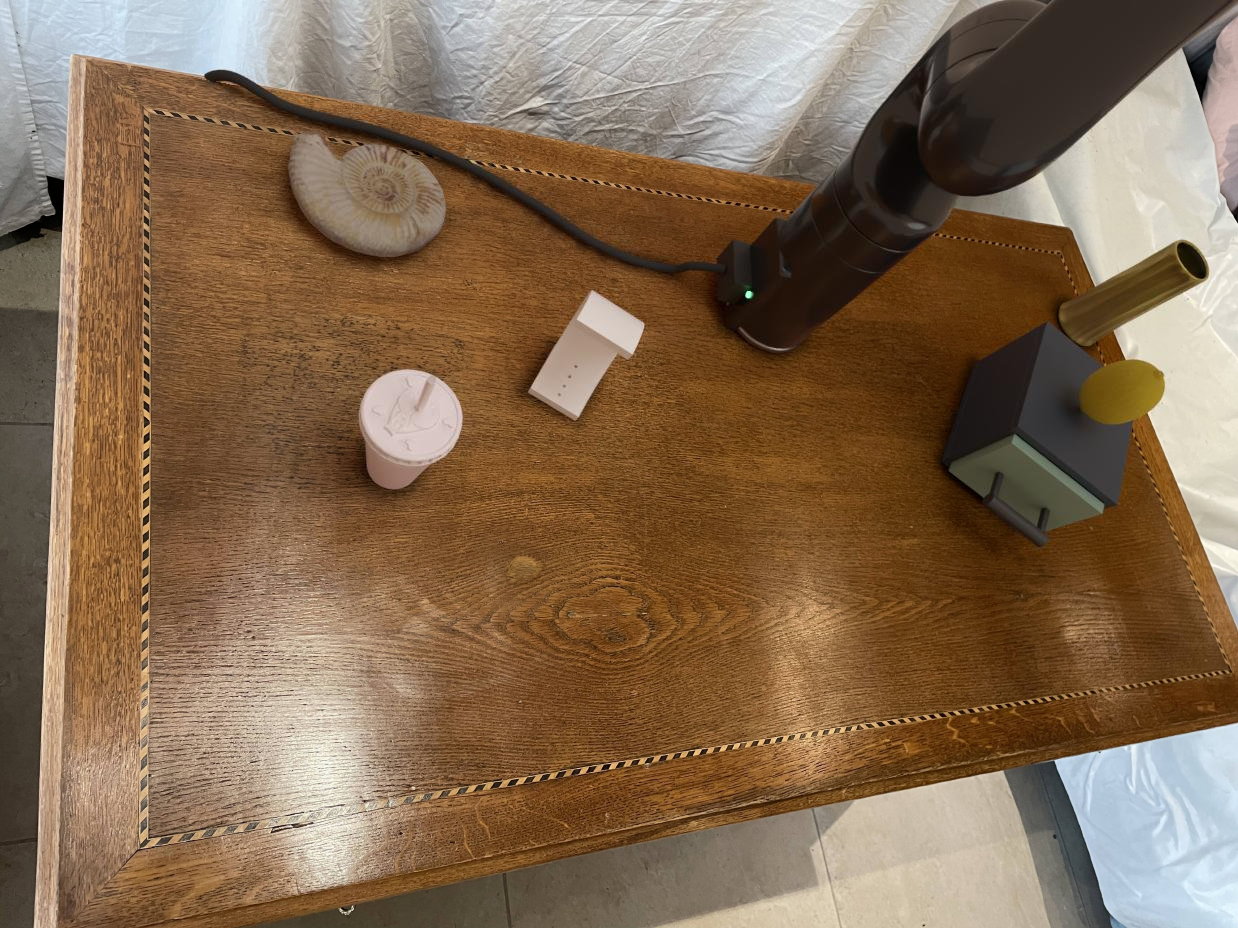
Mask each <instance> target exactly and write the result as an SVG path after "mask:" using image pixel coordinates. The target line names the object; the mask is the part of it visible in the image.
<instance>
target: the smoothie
mask: <svg viewBox="0 0 1238 928" xmlns="http://www.w3.org/2000/svg"><path fill="white" fill-rule="evenodd" d="M358 425H359V426H358V427H359V428H360V432H361V434H362V438H363V439H364V442H365V445H364V446H365V459H366V469H367V473H368V475H369V477H370V478H371V479H372V481H373V482H374V483H375V484H377V485H378V486H380V487H383V488H384V489H387V490H388V489H389V490H399V489H403V488H405V487H407V486H409V485H410V484H411V483H413V482H414V481H415V480H416V479H418V477H419V476H420V475H421V474H422V473H423V472H424V471H425V470H426V469H427V468H428V467H430V466H431V464H435V463H436V462H438V461H440V460H441V459H443V458H444V457H446V456H447V455H448V454H449V453H450V452H451V451H452V450H453V448H454V447H455V446H456V443H457V441H458V440H459V437H460V434H461V431H462V428H463V409H462V406H461V403H460V401H459V398H458V396H457V395H456V394H455V392H454V391H453V389H452V388H451V387H449V385H447V384H446V383H445V382H444V381H443V380H441V379H440V378H439V377H437V376H436V375H433V374H431V373H428V372H426V371H422V370H418V369H406V368H405V369H397V370H393V371H390V372H386V373H385V374H383V375H382V376H380V377H378V378H377V379H376V380H374V382H372V383H371V385H370V386H369V387H368V388H367V389H366V391H365V393H364V396H363V397H362V399H361V401H360V406H359V410H358Z"/></svg>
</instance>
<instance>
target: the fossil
mask: <svg viewBox="0 0 1238 928" xmlns="http://www.w3.org/2000/svg"><path fill="white" fill-rule="evenodd" d="M287 169H288V172H287V173H288V177H289V183H290V187H291V191H292V194H293V196H294V198H295V200H296V203H297V205H298V206H299V209H300V211H301V212H302V213H303V215H304V216H305V218H306V219H307V221H308V222H309V223H310V224H311V225H312V226H313V227H314V228H316V230H318V232H320V233H321V234H322V235H323V236H324V237H326V238H327V239H329V240H331V241H332V242H334V243H336V244H337V245H340V246H341V247H344V248H346V249H348V250H349V251H353V252H355V253H361V254H364V255H368V256H374V257H378V258H388V257H389V258H396V257H400V256H404V255H405V256H406V255H409V254H413V253H416V252H418V251H420V250H422V249H424V248H425V247H426V246H427V245H429V244H430V242H432V241H433V239H434V238H435V237H436V236H437V235H438V234H439V233H440V232H441V230H442V228H443V225H444V222H445V218H446V213H447V205H446V203H447V202H446V197H445V193H444V190H443V188H442V187H441V185H440V183H439V182H438V179H437V178H436V177H435V175H434V174H433V173H432V172H431V170H430V169H429V168H428V167H427V166H426V165H425V164H424V163H423V162H422V161H420V160H419V159H417V158H415V157H414V156H412V155H410V154H409V153H407V152H403V151H402V150H401V149H397V148H394V147H392V145H390V146H389V145H385V144H376V143H371V144H369V143H368V144H367V143H366V144H363V145H358V146H356V147H353V148H350V149H349V150H348V151H347V152H345V153H344V154H343V155H342V156H341V155H338V154H337V153H336V151H335V149H334V148H333V147H332V145H329V144H328V143H327V138H326V136H325V135H324V133H322V132H321V131H320V130H311V131H310V130H309V131H308V130H307V131H301V132H300V133H299V134H297V135H296V136H295V137H294V139H293V141H292V147H291V149H290V154H289V160H288V162H287Z"/></svg>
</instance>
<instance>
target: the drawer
mask: <svg viewBox="0 0 1238 928" xmlns="http://www.w3.org/2000/svg"><path fill="white" fill-rule="evenodd" d="M948 472H949V473H951V474H952V475H953V476H955V477H956V478H957V479H958V480H959V481H961V482H962V483H964V485H966V486H967V487H969V488H970V489H971V490H973V491H974V492H975V493H977V494H978V495H979V496H981V497H982V498H983V499H982V501H981V505H982V506H983V507H985V508H986V509H987V510H988V511H990V512H992V513H993V514H994V515H996V516H997V517H998V518H1000V519H1001V520H1002V521H1003V522H1005V523H1006V524H1007V525H1008V526H1010V527H1011V528H1013V529H1014V530H1015V531H1016V532H1018V533H1019V534H1020V535H1021V536H1023V537H1024V538H1026V539H1027V540H1028V541H1029V542H1031V543H1032V544H1034V545H1035V546H1036V547H1038V548H1042V547H1044V546H1045V545H1046V544H1047V543H1048V542H1049V540H1050V536H1049V535H1048V534H1047V533H1046V532H1049V531H1051V530H1055V529H1057V528H1061V527H1065V526H1068V525H1072V524H1074V523H1079V522H1080V521H1085V520H1087V519H1091V518H1093V517H1097V516H1100V515H1102V514H1103V513H1104V509H1103V508H1104V504H1103V503H1102V502H1101V501H1100V500H1098V499H1097V498H1096V497H1095V496H1093V495H1092V494H1091V492H1090V491H1089V490H1088V489H1087V488H1085V487H1084V486H1083V485H1082V484H1080V483H1079V482H1078V481H1076V480H1075V479H1074V478H1073V477H1071V476H1070V475H1069V474H1068V473H1066V472H1065V471H1064V470H1062V469H1061V468H1060V467H1059V466H1057V465H1056V464H1055V463H1054V462H1052V461H1051V460H1050V459H1048V458H1047V457H1046V456H1045V455H1043V454H1042V453H1041V452H1040V451H1038V450H1037V449H1036V448H1034V447H1033V446H1032V445H1031V444H1029V443H1028V442H1027V441H1026V440H1024V439H1023V438H1022V437H1020V436H1019V435H1018V434H1013V435H1010V436H1008V437H1006V438H1004V439H1002V440H999V441H997V442H995V443H993V444H991V445H988V446H986V447H984V448H982V449H980V450H977V451H975V452H973V453H971V454H969V455H967V456H964V457H962V458H960V459H958V460H956V461H953V462H952V463H951V466H950V468H948Z"/></svg>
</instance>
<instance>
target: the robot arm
mask: <svg viewBox="0 0 1238 928" xmlns="http://www.w3.org/2000/svg"><path fill="white" fill-rule="evenodd" d="M1236 6H1238V0H1051V1H1050V2H1048V3H1043V2H1042V1H1039V0H998V1H995V2H991V3H988V4H986V5H983V6H981V7H979V8H977V9H975V10H973V11H972V12H970V13H968V14H967V15H965V16H963V17H962V18H961V19H959V20H958V21H956V22H955V23H954V24H953V25H952V26H951V27H949V29H947V30H946V31H945V32H944V33H943V34H942V35H941V36H940V37H939V38H938V39H937V40H936V41H935V42H934V43H933V44H932V45H931V46H930V47H929V49H928V50H927V51H926V52H925V53H924V54H923V55H922V56H921V57H920V59H919V60H918V61H917V62H916V63H915V64H914V65H913V66H912V68H911V69H910V70H909V71H908V72H907V74H906V75H905V76H904V77H903V78H902V79H901V80H900V82H899V83H898V84H897V85H896V86H895V88H894V89H892V91H891V93H890V94H889V95H888V96H887V97H886V98H885V99H884V100H883V101H882V103H881V104H880V106H879V107H878V108H877V109H876V110H875V111H874V112H873V114H872V115H871V116H870V118H869V119H868V121H867V122H866V124H865V125H864V127H863V129H862V130H861V132H860V134H859V136H858V138H857V139H856V141H855V143H854V145H853V146H852V147H851V149H850V150H849V151H848V152H847V154H846V155H845V156H844V157H843V158H842V159H841V160H840V161H839V163H837V164H836V166H835V167H834V168H833V169H832V170H831V172H829V174H828V175H826V177H825V178H824V179H823V180H822V181H821V182H819V184H818V185H817V187H815V188H814V189H813V190H812V192H811V193H810V194H809V195H808V196H807V197H806V198H805V199H804V200H803V201H802V202H801V203H800V204H799V206H797V207H796V208H795V210H794V211H793V212H792V213H791V214H790V215H789V216H788V217H787V218H784V217H781V216H776V217H775V218H773V219H772V221H771V222H769V224H768V225H767V226H766V227H765V228H764V229H763V231H762V232H761V233H760V234H759V235H758V236H757V237H756V238H755V239H754V240H753V241H752V243H748V242H745V241H742V240H738V239H735V238H733V239H732V240H731V241H730V242H729V243H728V244H727V246H726V247H725V248H724V249H723V250H722V251H721V252H720V254H718V256H717V257H716V263H714V262H708V261H696V260H695V261H686V262H685V261H684V262H682V263H677V264H675V263H665V262H659V261H653V260H648V259H646V258H645V259H644V258H642V257H639V256H636V255H633V254H631V253H629V252H626V251H624V250H621V249H619V248H617V247H615V246H613V245H610V244H608V243H606V242H603V241H602V240H600V239H598V238H595V237H594V236H592V235H591V234H589V233H587V232H586V231H583V229H581V228H579V227H577V226H576V225H575V224H573V223H572V222H571V221H569V220H568V219H566V218H565V217H564V216H562V215H560V214H559V213H558V212H557V211H555V210H553V209H552V208H551V207H549V206H548V205H545V204H544V203H542V201H539V200H537V199H536V198H535V197H533V196H531V195H529V193H526V192H524V191H523V190H521V189H520V188H518V187H517V186H514V184H511V183H510V182H508V181H506V180H504V179H503V178H501V177H499V176H498V175H496V174H494V173H492V172H491V171H488V170H487V169H485V168H483V167H481V166H479V165H477V164H475V163H473V162H471V161H469V160H467V159H465V158H463V157H461V156H458V155H457V154H455V153H452V152H450V151H448V150H445V149H442V148H440V147H438V146H435V145H433V144H431V143H428V142H425V141H423V140H420V139H418V138H416V137H415V138H414V137H413V136H409V135H406V134H403V133H400V132H398V131H394V130H391V129H388V128H385V127H382V126H378V125H375V124H373V123H369V122H366V121H362V120H358V119H357V120H356V119H353V118H348V117H344V116H339V115H335V114H331V113H327V112H322V111H319V110H314V109H311V108H308V107H304V106H301V105H299V104H295V103H293V102H290V101H287V100H286V99H283V98H281V97H279V96H278V95H276V94H275V93H272V92H271V91H269V90H267V89H266V88H264V87H262V86H261V85H260V84H258V83H256V82H255V81H253V80H252V79H250V78H248V77H246V76H245V75H242V74H241V73H238V72H236V71H233V70H228V69H214V70H210V71H207V72H205V73H204V74H203V78H204V79H205V80H206V81H207V82H211V83H220V82H226V83H227V82H228V83H232V84H234V85H237V86H239V87H241V88H243V89H245V90H246V91H248V92H250V93H252V94H253V95H255V96H256V97H258V99H261V100H262V101H264V102H266V103H267V104H269V105H271V106H273V107H275V108H277V109H278V110H280V111H283V112H284V113H288V114H290V115H293V116H295V117H299V118H302V119H305V120H309V121H312V122H315V123H316V122H317V123H319V124H324V125H328V126H333V127H338V128H342V129H347V130H351V131H355V132H360V133H364V134H366V135H367V134H368V135H371V136H374V137H377V138H381V139H383V140H386V141H390V142H393V143H396V144H399V145H402V146H405V147H408V148H411V149H413V150H416V151H419V152H422V153H425V154H427V155H430V156H432V157H434V158H436V159H439V160H441V161H444V162H446V163H448V164H450V165H453V166H455V167H457V168H459V169H462V170H463V171H466V172H468V173H470V174H472V175H474V176H475V177H478V178H479V179H482V180H483V181H485V182H487V183H489V184H491V185H492V186H494V187H496V188H498V189H500V190H501V191H503V192H505V193H506V194H508V195H509V196H511V197H513V198H515V199H516V200H518V201H519V202H520V203H522V204H524V205H526V206H527V207H529V208H531V209H533V210H534V211H536V212H537V213H539V214H541V215H542V216H544V217H546V218H547V219H548V220H549V221H551V222H553V223H554V224H556V225H557V226H558V227H560V228H561V229H563V231H566V232H567V233H568V234H570V235H571V236H573V237H574V238H576V239H578V240H579V241H581V242H583V243H584V244H586V245H588V246H589V247H591V248H593V249H595V250H597V251H599V252H601V253H603V254H606V255H608V256H611V257H612V258H615V259H616V260H619V261H622V262H624V263H627V264H629V265H633V266H634V267H638V268H642V269H647V270H651V271H655V272H658V273H659V272H660V273H668V274H683V273H687V272H689V271H696V272H697V271H698V272H707V273H715V274H716V285H717V287H716V288H717V301H719V302H723V304H724V321H725V322H724V325H725V327H726V328H727V329H730V330H734V331H736V332H737V333H738V335H739V336H741V337H742V339H743V340H745V341H746V342H747V343H748V344H750V345H751V346H753V347H755V348H757V349H758V350H761V351H763V352H766V353H770V354H785V353H788V352H792V351H793V350H795V349H797V348H798V346H800V345H802V344H803V342H804V341H805V340H806V339H807V338H808V337H810V336H811V335H812V334H813V333H815V331H817V330H818V329H820V327H821V326H823V325H824V324H825V323H827V322H828V321H829V320H830V319H831V318H832V317H834V316H835V315H836V314H837V313H838V312H840V311H842V309H844V308H845V307H846V306H847V305H849V304H850V303H851V302H852V301H853V300H855V299H856V298H857V297H858V296H860V295H861V294H862V293H863V292H865V291H866V290H867V289H868V288H869V287H871V286H872V285H873V284H874V283H876V282H877V281H878V280H879V279H880V278H882V277H883V276H884V275H885V274H887V273H888V272H889V271H891V269H893V268H894V267H896V266H897V265H898V264H899V263H901V262H902V261H903V260H904V259H905V258H907V257H908V256H909V255H910V254H911V253H913V252H914V251H915V250H916V249H918V248H919V247H920V246H922V244H924V243H925V242H926V241H928V240H929V239H930V238H931V237H933V236H934V235H935V234H936V233H937V232H938V231H939V230H940V229H941V228H942V227H943V226H944V224H945V223H946V221H947V220H948V218H949V217H950V215H951V213H952V211H953V209H954V207H955V205H956V203H957V201H958V200H959V197H969V198H970V197H971V198H972V197H973V198H976V197H977V198H978V197H985V196H992V195H995V194H999V193H1002V192H1005V191H1008V190H1011V189H1014V188H1015V187H1017V186H1020V185H1022V184H1024V183H1027V182H1028V181H1030V180H1031V179H1033V178H1035V177H1036V176H1038V175H1039V174H1041V173H1042V172H1043V171H1045V170H1046V169H1048V168H1049V167H1050V166H1052V164H1054V163H1055V162H1056V161H1058V159H1059V158H1061V157H1062V156H1064V154H1065V153H1066V152H1068V151H1069V150H1070V149H1071V148H1072V147H1073V146H1074V145H1075V144H1076V143H1077V142H1078V141H1080V140H1081V139H1083V137H1084V136H1085V135H1086V134H1087V133H1089V131H1090V130H1092V129H1093V128H1094V127H1095V126H1096V125H1097V124H1099V122H1100V121H1101V120H1103V118H1105V117H1106V116H1107V115H1108V114H1109V113H1110V112H1111V111H1112V110H1114V108H1116V107H1117V106H1118V105H1119V104H1120V103H1121V102H1122V101H1124V99H1125V98H1126V97H1127V96H1129V95H1130V94H1131V93H1132V92H1133V91H1134V90H1136V88H1137V87H1139V85H1141V84H1142V83H1143V82H1144V81H1145V80H1146V79H1148V78H1149V77H1150V76H1151V75H1152V74H1153V73H1154V72H1155V71H1156V70H1157V69H1159V68H1160V67H1161V66H1163V64H1165V62H1167V61H1168V60H1169V59H1170V58H1171V57H1173V56H1174V55H1175V54H1176V53H1178V51H1180V50H1181V49H1182V48H1183V47H1185V46H1186V45H1187V44H1189V43H1190V42H1191V41H1192V40H1194V39H1195V38H1196V37H1197V36H1199V35H1200V34H1201V33H1203V32H1204V31H1205V30H1207V29H1208V28H1209V27H1211V26H1212V25H1213V24H1214V23H1216V22H1217V21H1218V20H1220V19H1221V18H1222V17H1223V16H1225V15H1226V14H1228V13H1229V12H1230V11H1231V10H1233V9H1234V8H1236Z"/></svg>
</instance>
